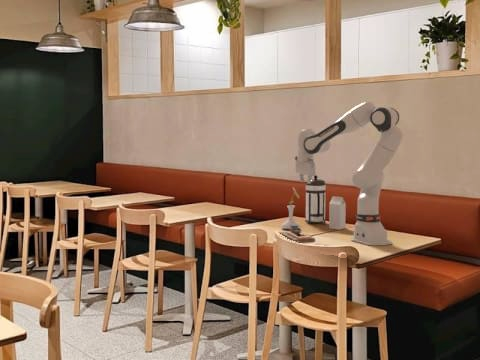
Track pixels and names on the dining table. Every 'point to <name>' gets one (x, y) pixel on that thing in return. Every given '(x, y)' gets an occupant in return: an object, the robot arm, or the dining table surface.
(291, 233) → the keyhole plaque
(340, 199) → the milk carton
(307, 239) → the mount board
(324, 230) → the dining table surface
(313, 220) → the coffee press
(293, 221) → the flower in vase
